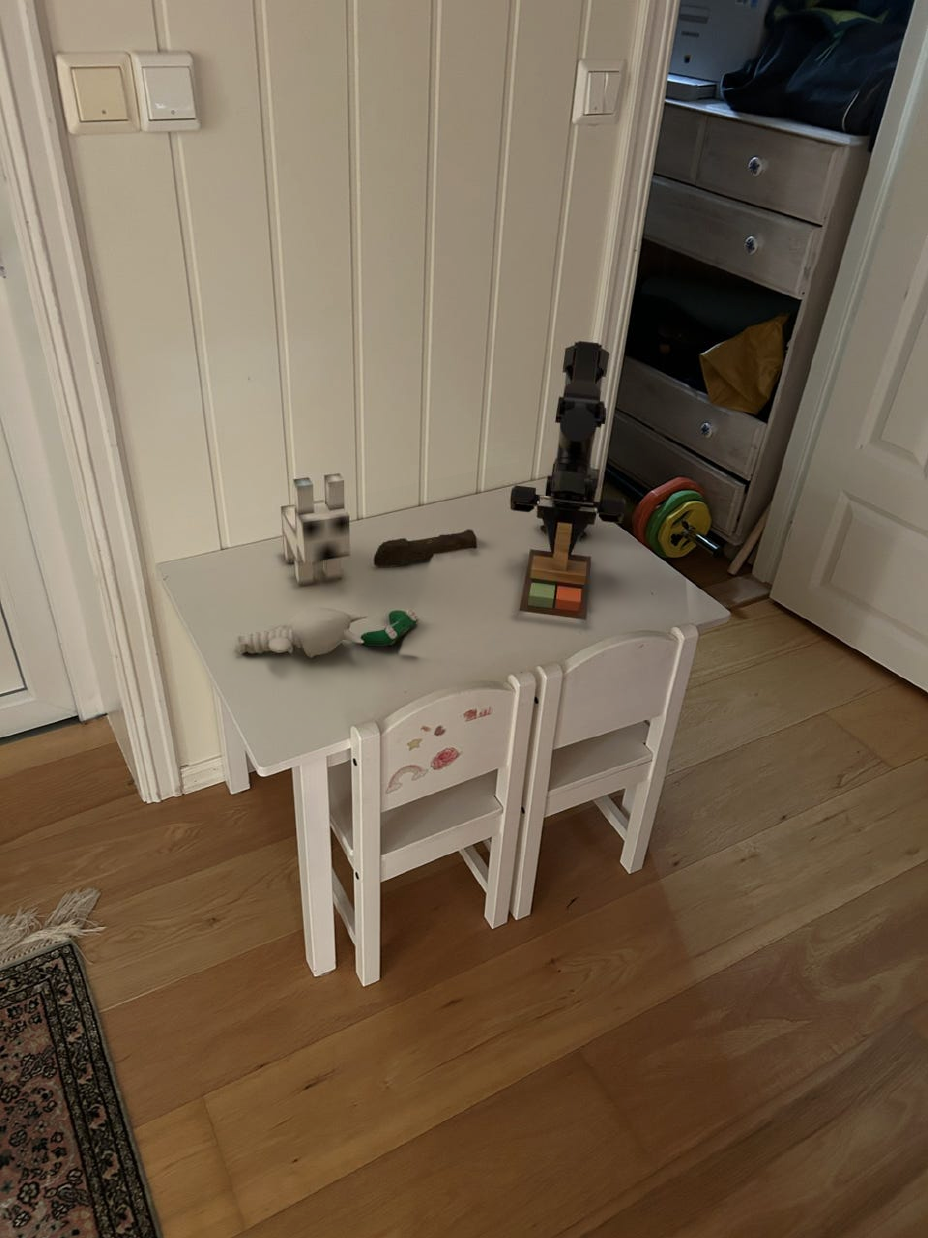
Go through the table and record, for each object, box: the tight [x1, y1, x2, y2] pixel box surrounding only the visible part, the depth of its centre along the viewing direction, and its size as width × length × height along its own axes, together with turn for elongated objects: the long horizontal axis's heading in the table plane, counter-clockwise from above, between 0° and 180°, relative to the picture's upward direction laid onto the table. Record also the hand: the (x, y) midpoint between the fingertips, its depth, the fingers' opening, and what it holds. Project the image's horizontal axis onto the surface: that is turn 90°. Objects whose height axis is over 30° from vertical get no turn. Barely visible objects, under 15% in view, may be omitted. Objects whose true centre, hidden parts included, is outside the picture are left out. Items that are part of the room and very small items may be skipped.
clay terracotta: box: [555, 586, 582, 612], centre depth 154 cm, size 4×4×2 cm
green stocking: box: [360, 608, 419, 647], centre depth 145 cm, size 9×4×6 cm
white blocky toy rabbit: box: [280, 472, 351, 587], centre depth 155 cm, size 8×18×20 cm, turn 23°
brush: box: [530, 522, 587, 594], centre depth 154 cm, size 4×9×12 cm, turn 81°
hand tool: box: [373, 529, 478, 567], centre depth 165 cm, size 19×4×5 cm, turn 111°
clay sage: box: [528, 583, 555, 608], centre depth 154 cm, size 4×4×2 cm
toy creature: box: [236, 607, 370, 659], centre depth 140 cm, size 13×7×20 cm
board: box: [518, 548, 592, 621], centre depth 160 cm, size 20×11×2 cm, turn 171°
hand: (560, 554), depth 152 cm, fingers closed on brush, 2 cm apart
